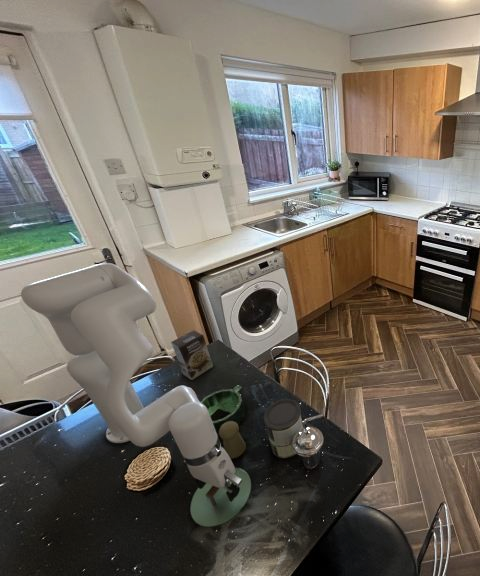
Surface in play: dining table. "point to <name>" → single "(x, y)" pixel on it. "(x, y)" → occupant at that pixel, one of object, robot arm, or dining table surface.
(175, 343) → the coffee box
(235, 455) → the cork
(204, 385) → the dining table surface
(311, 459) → the cup with straw
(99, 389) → the robot arm
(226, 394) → the pot
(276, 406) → the coffee can
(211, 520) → the lid
